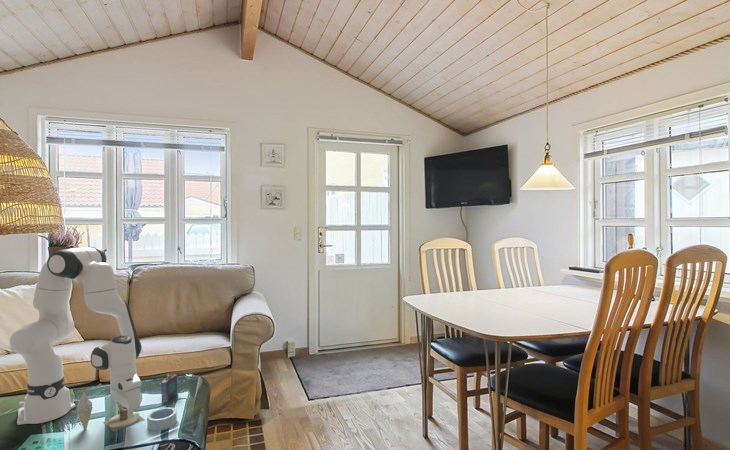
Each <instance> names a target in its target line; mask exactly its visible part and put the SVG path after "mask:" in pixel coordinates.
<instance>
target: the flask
mask: <svg viewBox="0 0 730 450" xmlns="http://www.w3.org/2000/svg"><path fill="white" fill-rule="evenodd" d="M165 376H166V378H165V379H163V380H162V381H161V382H160V383H161V402H162V403H165V402H168V401H169V399H170V400H172V399H173V398H174V397H175V396H177V395H178V374H169V373H166V375H165Z"/></svg>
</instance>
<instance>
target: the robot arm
mask: <svg viewBox="0 0 730 450" xmlns="http://www.w3.org/2000/svg"><path fill="white" fill-rule="evenodd" d="M76 278H79V279H80V280H81V282H82V284H83V297H84V303H85V305H86V307H87V308H88V309H89V310H90V311H92V312H94V313H97V314H103V315H110V316H112V317H114V318H115V319H116V322H117V325H118V329H119V333H120V335H119V336H115V337H113V338H111V339H110V341H108V342H106V343H103V344H99V345H98V346H95V348H93V350H92V351H91V354H90V365H91V366H92V368H94V369H96V370H98V371H106V370H109V371H110V373H109V377H110V378H109V379H110V382H109V383H110V384H109V385H110V386H109V387H110V389H109V390H110V392H109V393H110V397H111V398H112V399H114V400H115V403H116V409H117V411H118V412H120V411H121V410H123V409H127V410H128V413H127V418H129V419H130V418H133V412H135V410H136V409H139V408H140V406H141V386H142V380H141V379H140V377H139V376H138V373H137V372H138V371H137V365H136V360H137V359H138V357H140V354H141V352H142V350H143V348H142V347H143V346H142V343H141V340H140V339H139V337H138V334H137V331H136V328H135V323H134V321H133V317H132V314H131V309H130V307H129V305H128V303H127V301H126V300H124V299H122V298H121V296H120V294H119V292H118V285H117V279H116V275H115V273H114V269H113V267H112V266H111V265H110V264H109V263H107V255H106V253H105V251H104V250H102V249H101V248H99V247H96V246H95V247H94V246H88V247H87V246H77V247H74V248H73V247H72V248H67V249H65V248H64V249H59V250H57V251H56V250H55V251H54V252H52V253H51V254H50V255H49V256H48V257H47V260H46V262H44V263H43V265H42V267H41V269H40V271H39V275H38V277H37V282H36V286H35V290H34V295H33V301H32V306H33V308H34V309H36V310H37V311H38V314H39V315H38V316H39V317H38V320H37V321H34V322H32V323H28V324H26V325H23V326H22V327H20V328H18V329H17V330H16V331H14V332H13V333H12V334H11V335H10V338H9V346H10V347H11V350H12V351H14V352H15V353H16V354H19V355H21V357H22V358H23V359H24V362H25V363H26V368H27V384H26V395H25V397H24V400H23V401H19V402H18V404H19V405H18V407H19V408H18V412H17V420H16V425H19V426H21V425H27V424H28V425H29V424H31V425H35V424H42V423H48V422H51V421H53V420H56V419H59V418H61V417H63V416H64V415H66V414H67V413H69V412H70V411H71V410H73V409H74V408H75V407H76V404H75V403H74V402H71V401H72V400H71V393H70V391H71V390H70V389H69V388H68V387H66V379H65V376H64V365H63V364H64V363H63V361H64V360H63V358H62V356H60V355H58V354H56V353H55V351H54V345H55V344H57V343H58V342H61V341H64V340H65V339H67V337H69V336H70V335H72V333H73V332H74V330H75V321H74V319H73V318H72V317H71V316H70V315H69V312H68V311H69V310H68V302H69V297H70V293H71V292H70V291H71V288H72V287H71V286H72V280H74V279H76ZM124 407H125V408H124Z"/></svg>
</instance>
